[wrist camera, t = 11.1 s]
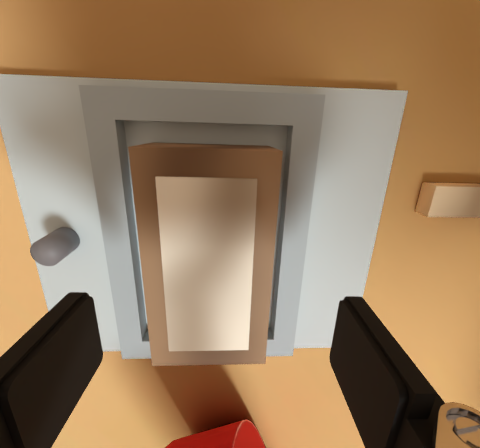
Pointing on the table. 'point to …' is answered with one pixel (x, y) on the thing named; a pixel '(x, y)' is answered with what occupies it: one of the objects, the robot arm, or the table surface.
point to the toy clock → (223, 437)
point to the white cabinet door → (198, 132)
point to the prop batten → (449, 200)
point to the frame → (206, 248)
